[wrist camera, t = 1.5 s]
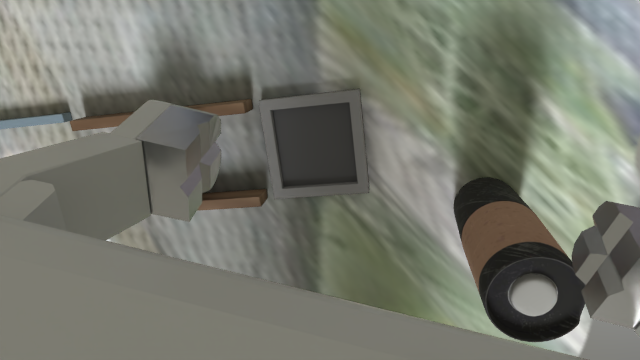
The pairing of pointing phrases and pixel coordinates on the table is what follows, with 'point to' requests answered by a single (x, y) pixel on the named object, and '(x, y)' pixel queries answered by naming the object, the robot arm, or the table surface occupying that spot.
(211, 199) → the channel
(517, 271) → the travel mug
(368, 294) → the table surface
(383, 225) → the table surface
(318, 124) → the tray
